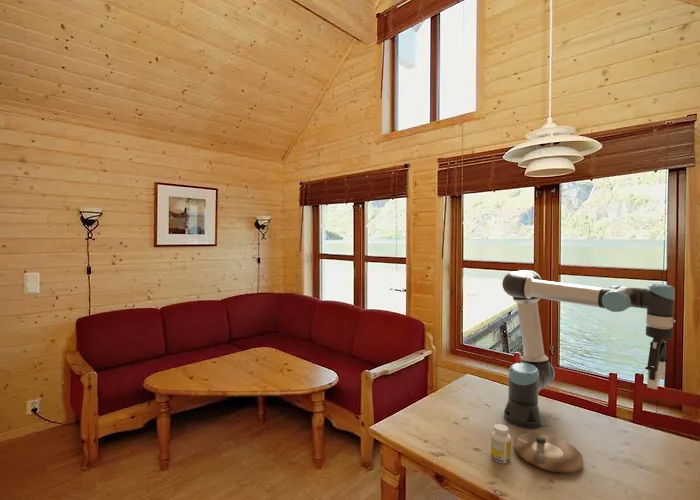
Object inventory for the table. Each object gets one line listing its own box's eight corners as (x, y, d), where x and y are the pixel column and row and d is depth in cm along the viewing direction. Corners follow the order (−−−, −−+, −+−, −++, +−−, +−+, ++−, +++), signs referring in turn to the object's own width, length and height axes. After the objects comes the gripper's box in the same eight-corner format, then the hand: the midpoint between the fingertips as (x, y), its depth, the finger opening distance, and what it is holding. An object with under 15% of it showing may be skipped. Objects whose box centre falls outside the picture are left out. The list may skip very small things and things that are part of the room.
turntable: (505, 453, 131) (506, 429, 130) (524, 429, 147) (525, 407, 147) (575, 481, 116) (576, 454, 116) (588, 451, 132) (589, 427, 132)
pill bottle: (509, 455, 132) (510, 424, 131) (511, 466, 126) (512, 433, 125) (490, 451, 134) (491, 421, 134) (491, 462, 128) (492, 430, 128)
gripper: (666, 334, 121) (662, 396, 123) (678, 323, 138) (675, 377, 139) (638, 330, 127) (635, 388, 128) (653, 319, 143) (650, 371, 144)
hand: (656, 383), depth 134 cm, fingers open, 13 cm apart
